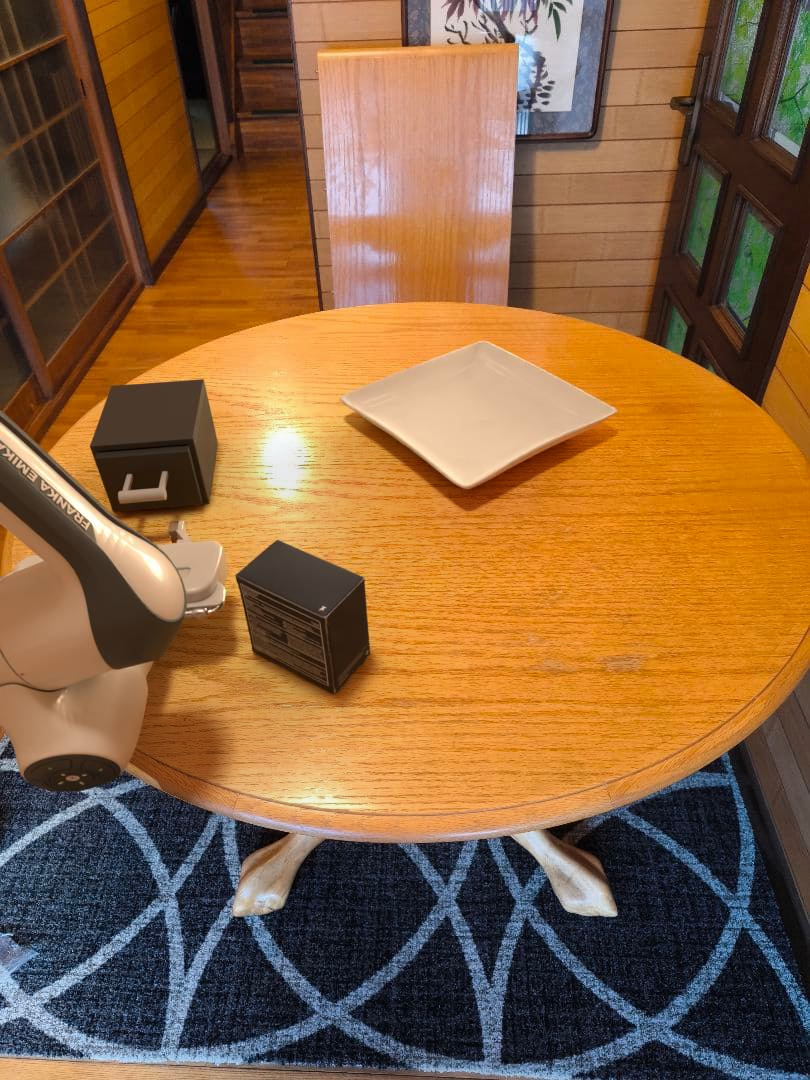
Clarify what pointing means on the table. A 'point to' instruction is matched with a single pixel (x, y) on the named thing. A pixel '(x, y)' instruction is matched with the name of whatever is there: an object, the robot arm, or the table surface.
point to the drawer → (150, 477)
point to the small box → (305, 614)
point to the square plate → (477, 411)
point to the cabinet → (160, 423)
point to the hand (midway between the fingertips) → (133, 529)
